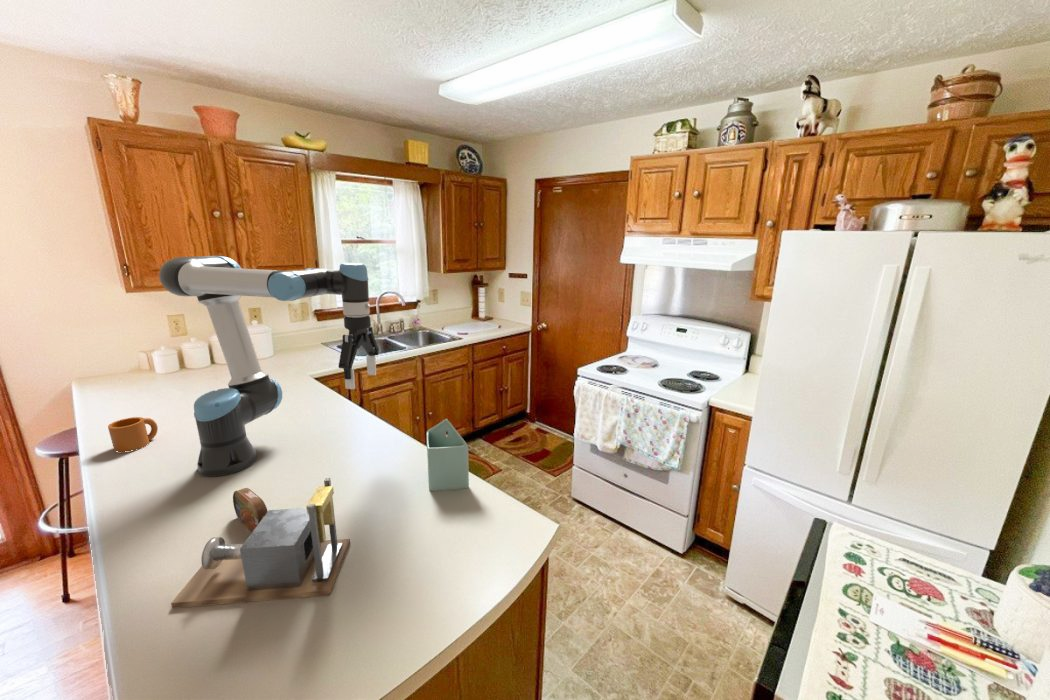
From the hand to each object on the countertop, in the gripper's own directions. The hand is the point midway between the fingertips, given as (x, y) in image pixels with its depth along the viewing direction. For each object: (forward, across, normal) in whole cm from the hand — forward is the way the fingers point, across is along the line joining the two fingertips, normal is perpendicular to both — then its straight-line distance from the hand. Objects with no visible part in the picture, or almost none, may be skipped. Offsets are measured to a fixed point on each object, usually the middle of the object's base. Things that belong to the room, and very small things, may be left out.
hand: (361, 381), depth 130 cm
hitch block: (+25, -48, -9) cm, 55 cm away
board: (+26, -50, -4) cm, 56 cm away
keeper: (+17, -47, -15) cm, 52 cm away
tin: (+27, -36, +12) cm, 46 cm away
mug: (+28, -5, +80) cm, 85 cm away
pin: (+24, -50, -1) cm, 56 cm away
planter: (+26, -12, -29) cm, 41 cm away
